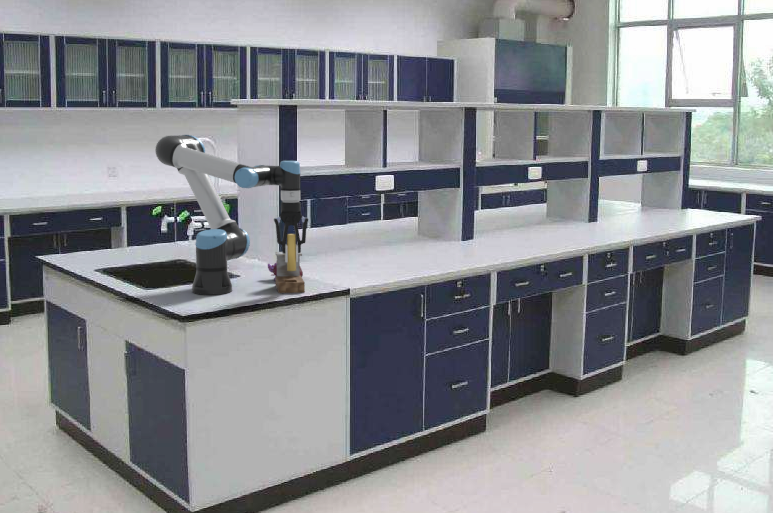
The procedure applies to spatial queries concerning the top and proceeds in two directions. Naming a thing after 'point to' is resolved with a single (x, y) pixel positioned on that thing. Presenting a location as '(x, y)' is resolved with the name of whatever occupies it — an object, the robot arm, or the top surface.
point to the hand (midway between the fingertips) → (291, 261)
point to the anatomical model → (274, 270)
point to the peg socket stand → (288, 276)
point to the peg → (291, 252)
